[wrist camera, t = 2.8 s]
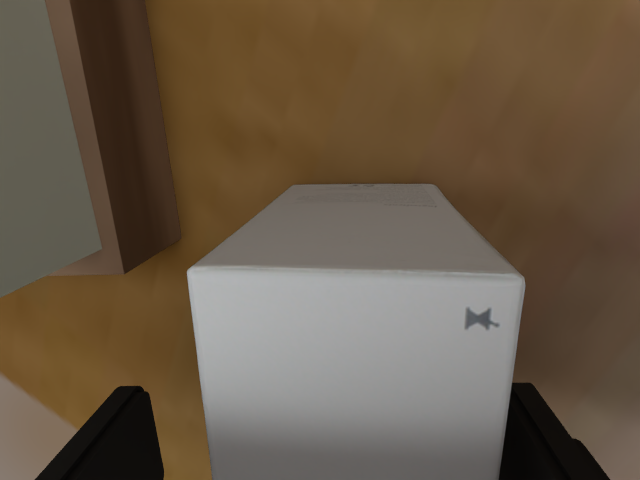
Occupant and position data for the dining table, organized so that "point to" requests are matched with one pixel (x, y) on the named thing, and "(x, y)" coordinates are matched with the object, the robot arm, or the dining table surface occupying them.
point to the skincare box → (356, 339)
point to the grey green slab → (38, 155)
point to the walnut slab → (116, 130)
